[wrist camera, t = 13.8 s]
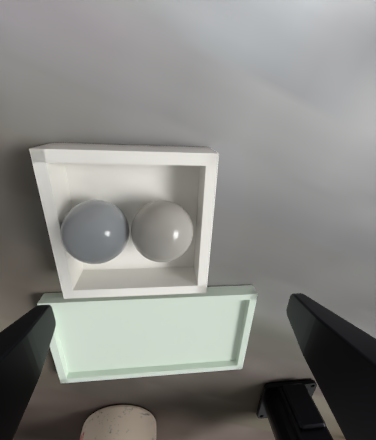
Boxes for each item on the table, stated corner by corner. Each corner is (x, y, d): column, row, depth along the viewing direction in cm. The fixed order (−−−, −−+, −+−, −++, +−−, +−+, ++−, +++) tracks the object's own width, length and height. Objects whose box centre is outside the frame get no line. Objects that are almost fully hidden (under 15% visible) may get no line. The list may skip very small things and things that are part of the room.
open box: (200, 268, 20) (206, 292, 17) (78, 272, 19) (63, 298, 16) (209, 147, 16) (219, 153, 13) (53, 142, 15) (28, 148, 12)
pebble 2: (200, 250, 17) (175, 283, 13) (153, 238, 18) (119, 264, 15) (204, 198, 15) (177, 220, 12) (151, 189, 16) (114, 206, 13)
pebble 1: (137, 245, 17) (120, 279, 13) (84, 242, 17) (52, 275, 13) (134, 193, 15) (114, 216, 12) (76, 190, 16) (37, 211, 12)
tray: (238, 357, 25) (242, 368, 24) (65, 370, 23) (60, 383, 22) (252, 285, 21) (257, 294, 20) (44, 293, 19) (37, 303, 18)
